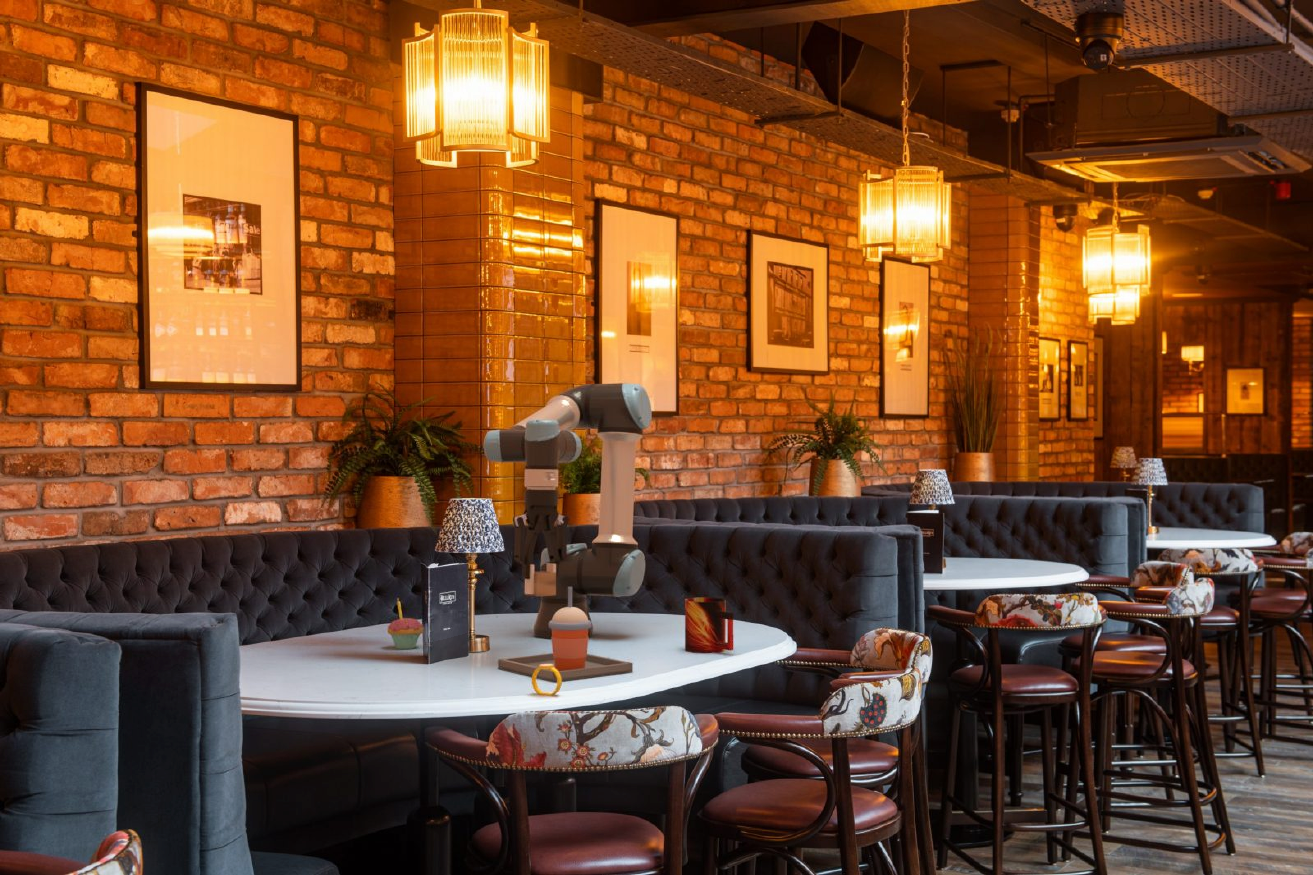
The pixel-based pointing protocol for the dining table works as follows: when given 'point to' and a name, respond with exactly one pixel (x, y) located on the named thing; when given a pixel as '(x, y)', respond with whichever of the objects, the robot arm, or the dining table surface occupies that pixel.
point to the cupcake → (405, 631)
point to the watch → (556, 672)
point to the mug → (707, 625)
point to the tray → (593, 668)
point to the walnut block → (544, 584)
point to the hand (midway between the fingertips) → (540, 593)
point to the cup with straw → (569, 636)
